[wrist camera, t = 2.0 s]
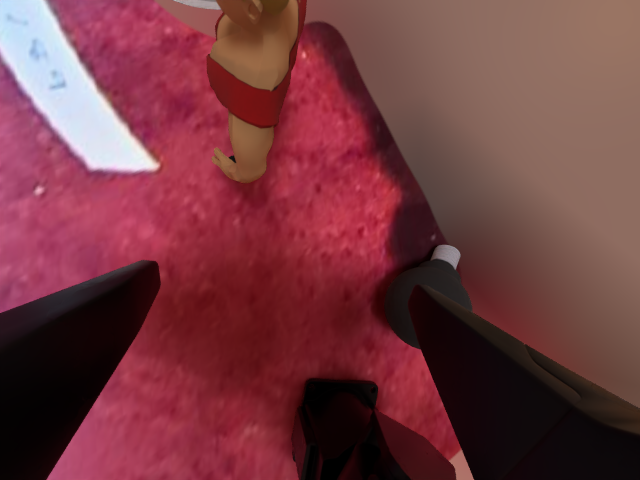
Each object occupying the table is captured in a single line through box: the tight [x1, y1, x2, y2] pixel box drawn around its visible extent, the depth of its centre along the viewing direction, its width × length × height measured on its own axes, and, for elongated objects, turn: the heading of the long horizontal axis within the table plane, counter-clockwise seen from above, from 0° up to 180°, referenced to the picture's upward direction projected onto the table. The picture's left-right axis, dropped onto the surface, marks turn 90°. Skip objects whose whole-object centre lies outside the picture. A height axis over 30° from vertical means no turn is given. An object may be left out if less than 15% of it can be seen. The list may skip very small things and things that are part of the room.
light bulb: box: [384, 245, 472, 349], centre depth 21 cm, size 6×6×10 cm
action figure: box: [207, 0, 307, 183], centre depth 13 cm, size 10×4×15 cm, turn 166°
